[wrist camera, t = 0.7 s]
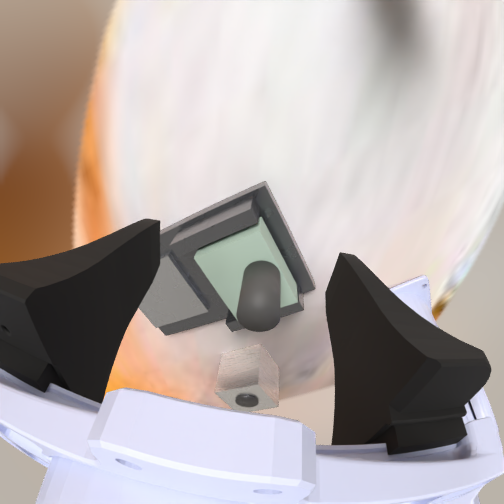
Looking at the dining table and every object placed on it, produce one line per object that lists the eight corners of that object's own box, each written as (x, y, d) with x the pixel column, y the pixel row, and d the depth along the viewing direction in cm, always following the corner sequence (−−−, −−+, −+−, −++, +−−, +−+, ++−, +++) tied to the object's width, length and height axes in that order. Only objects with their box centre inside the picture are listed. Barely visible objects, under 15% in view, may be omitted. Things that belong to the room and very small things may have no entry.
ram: (296, 284, 22) (300, 343, 17) (240, 303, 23) (231, 361, 18) (261, 216, 19) (255, 266, 14) (200, 242, 21) (177, 295, 16)
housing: (279, 367, 30) (278, 408, 26) (242, 376, 31) (237, 414, 27) (261, 342, 28) (257, 386, 24) (222, 352, 30) (214, 394, 25)
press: (314, 281, 24) (318, 308, 21) (168, 328, 28) (158, 353, 25) (265, 180, 20) (263, 197, 17) (111, 256, 24) (93, 278, 21)
